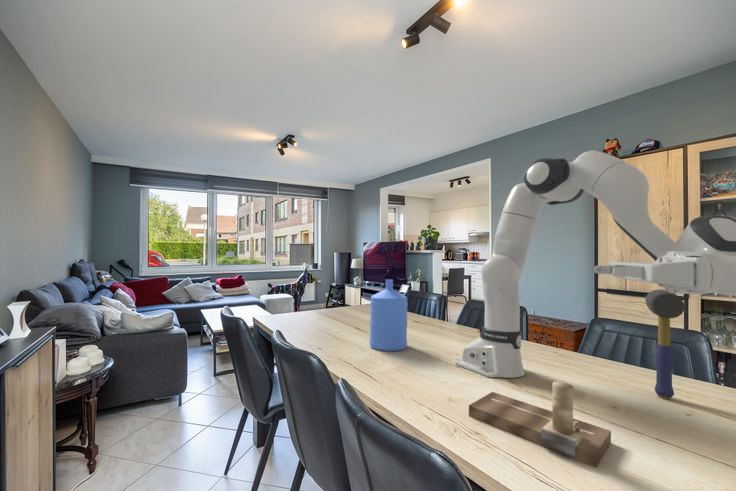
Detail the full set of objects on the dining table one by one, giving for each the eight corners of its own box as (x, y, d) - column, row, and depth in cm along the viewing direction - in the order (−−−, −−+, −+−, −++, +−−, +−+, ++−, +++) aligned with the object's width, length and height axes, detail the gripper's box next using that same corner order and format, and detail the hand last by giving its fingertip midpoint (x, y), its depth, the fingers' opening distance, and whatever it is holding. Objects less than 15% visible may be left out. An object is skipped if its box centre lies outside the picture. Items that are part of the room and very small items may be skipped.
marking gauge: (540, 442, 67) (541, 384, 68) (550, 432, 71) (550, 377, 72) (574, 456, 63) (574, 394, 63) (583, 444, 67) (583, 386, 67)
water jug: (408, 352, 132) (410, 281, 132) (369, 351, 132) (370, 280, 132) (405, 341, 147) (405, 278, 148) (369, 341, 147) (370, 277, 148)
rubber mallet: (688, 409, 85) (687, 292, 86) (650, 402, 90) (649, 290, 90) (677, 393, 96) (676, 289, 96) (643, 387, 100) (643, 287, 101)
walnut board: (468, 415, 80) (468, 404, 80) (492, 401, 88) (492, 391, 89) (596, 467, 61) (596, 453, 61) (610, 442, 70) (610, 430, 70)
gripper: (653, 257, 79) (587, 256, 83) (714, 257, 60) (624, 256, 64) (653, 283, 79) (587, 281, 83) (714, 292, 60) (624, 289, 64)
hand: (603, 270), depth 73 cm, fingers open, 8 cm apart
